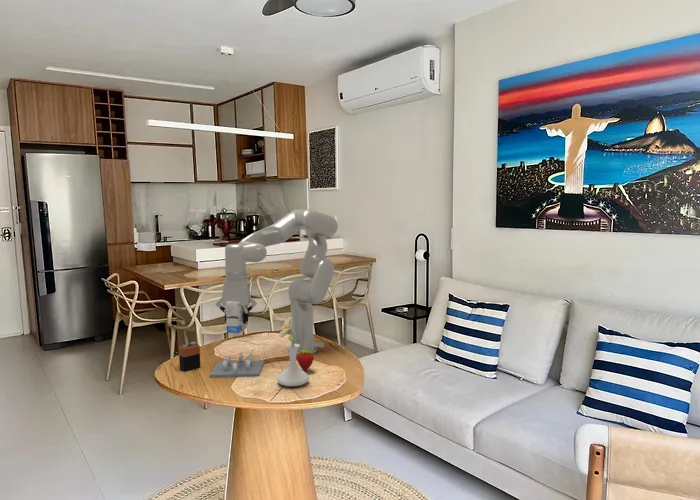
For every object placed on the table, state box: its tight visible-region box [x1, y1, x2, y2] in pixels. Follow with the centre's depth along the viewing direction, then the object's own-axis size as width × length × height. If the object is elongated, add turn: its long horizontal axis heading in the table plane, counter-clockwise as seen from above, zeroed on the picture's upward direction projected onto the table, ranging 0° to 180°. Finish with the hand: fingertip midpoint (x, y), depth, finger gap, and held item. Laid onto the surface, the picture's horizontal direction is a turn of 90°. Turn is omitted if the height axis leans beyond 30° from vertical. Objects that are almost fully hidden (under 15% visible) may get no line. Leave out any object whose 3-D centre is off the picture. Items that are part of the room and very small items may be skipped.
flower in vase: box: [276, 315, 310, 387], centre depth 169 cm, size 13×11×25 cm
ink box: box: [225, 301, 248, 334], centre depth 184 cm, size 9×5×12 cm, turn 169°
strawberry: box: [296, 347, 314, 373], centre depth 183 cm, size 6×8×10 cm
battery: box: [178, 341, 201, 372], centre depth 187 cm, size 4×7×10 cm, turn 135°
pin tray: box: [209, 352, 265, 379], centre depth 185 cm, size 18×16×4 cm
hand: (236, 322), depth 184 cm, fingers closed on ink box, 5 cm apart
